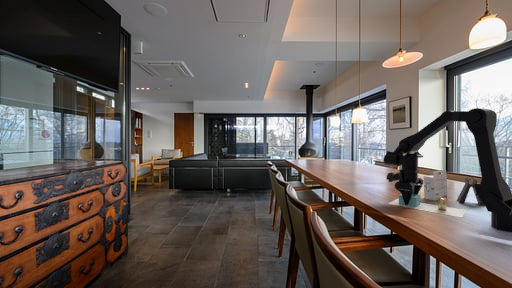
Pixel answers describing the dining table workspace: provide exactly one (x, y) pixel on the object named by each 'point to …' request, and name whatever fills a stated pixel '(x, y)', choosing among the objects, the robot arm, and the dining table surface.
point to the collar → (411, 200)
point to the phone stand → (466, 189)
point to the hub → (442, 204)
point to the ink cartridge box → (435, 185)
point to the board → (433, 209)
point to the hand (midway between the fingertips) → (409, 202)
